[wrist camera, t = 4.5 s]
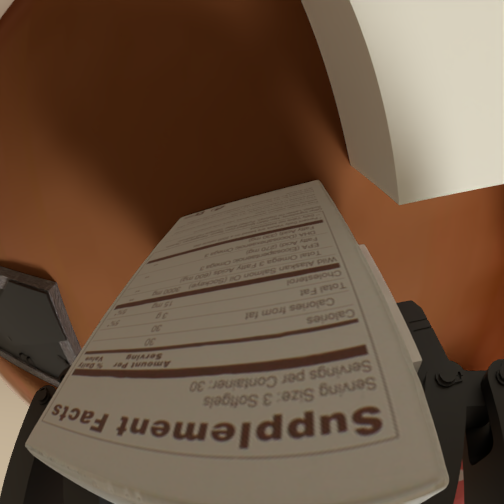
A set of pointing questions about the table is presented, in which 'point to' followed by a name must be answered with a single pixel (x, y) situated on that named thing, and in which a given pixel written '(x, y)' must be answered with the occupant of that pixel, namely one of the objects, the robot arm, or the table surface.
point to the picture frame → (35, 326)
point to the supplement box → (247, 372)
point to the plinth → (417, 90)
